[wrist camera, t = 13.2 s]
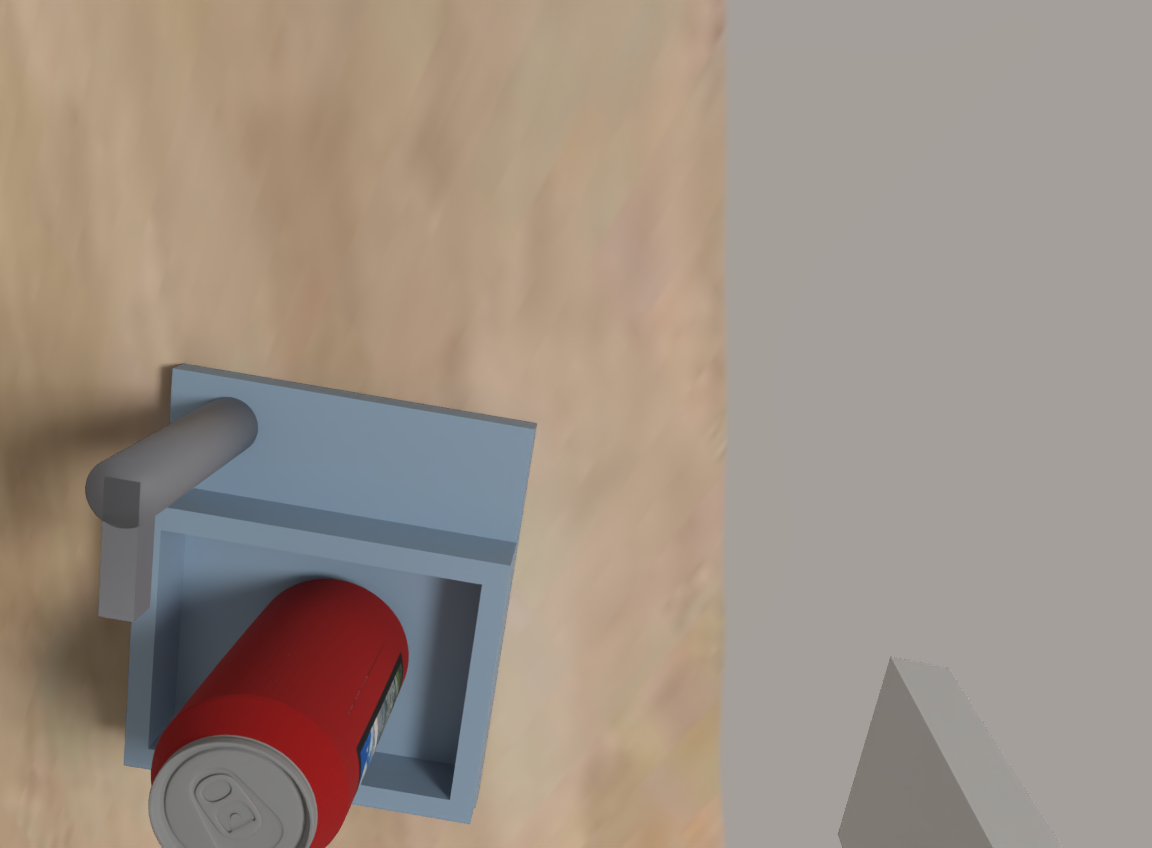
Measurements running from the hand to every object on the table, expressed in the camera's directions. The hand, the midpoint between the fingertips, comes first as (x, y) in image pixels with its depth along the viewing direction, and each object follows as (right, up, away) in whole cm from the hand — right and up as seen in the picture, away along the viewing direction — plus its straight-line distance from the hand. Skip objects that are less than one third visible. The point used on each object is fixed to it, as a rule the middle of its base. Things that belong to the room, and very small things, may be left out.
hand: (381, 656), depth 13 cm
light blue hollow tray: (-8, -4, +30) cm, 32 cm away
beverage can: (-8, -6, +30) cm, 32 cm away
